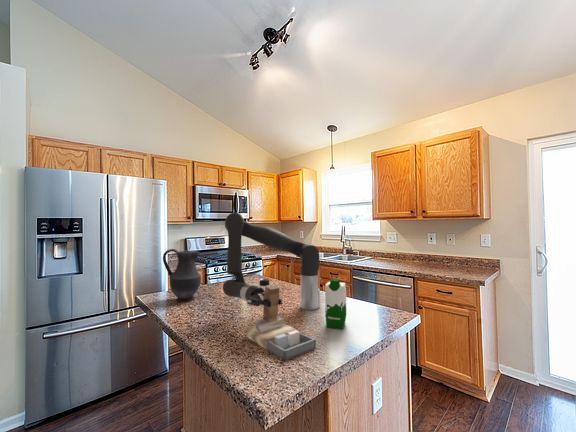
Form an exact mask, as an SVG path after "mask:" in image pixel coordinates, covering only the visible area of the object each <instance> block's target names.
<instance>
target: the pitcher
mask: <svg viewBox="0 0 576 432" xmlns="http://www.w3.org/2000/svg"><path fill="white" fill-rule="evenodd" d="M171 252H174V253H175V254H176V255H177V260H178V263H177V266H176V268H175V271H173V272H172V270H171V268H170V266H169V263H168V262H167V259H166V258H167V257H166V256H167V254H169V253H171ZM199 255H200V251H198V250H181V251H180V250H179V251H178V250H177V249H174V248H170V249H167V250H166V251H165V252H164V253H163V256H162V262H163V265H164V267H165V269H166V270H167V271H166V272H167V273H168V275H169V286H170V290H171V292H172V293H173V295H175V296H176V298H177V299H176V302H177V301H178V302H177V303H188V301H190V302H192V300H193V301H194V300H195V297H194V295H195V293H197V292H198V290H199V289H200V287H201V281H202V276H201V274H200V273H199V271H198V269H197V265H196V260H197V258H198V257H199Z"/></svg>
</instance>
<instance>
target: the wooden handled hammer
mask: <svg viewBox="0 0 576 432" xmlns="http://www.w3.org/2000/svg"><path fill="white" fill-rule="evenodd" d="M279 298H280V287H279V286H277V285H275V284H271V285H270V284H269V286H265V296H264V300H265V299H266V300H269V301H271V307H267V306H263V314H262V318H261V319H257V320H256V322H255V325H256V329H258V330H259V331H260V332H265V331H268V330H271V329H275V328H278V327H281V326H283V323H284V318H283V317H281V316H280V315H278V314H279V304H278V302H279Z"/></svg>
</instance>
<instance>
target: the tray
mask: <svg viewBox="0 0 576 432" xmlns="http://www.w3.org/2000/svg"><path fill="white" fill-rule="evenodd" d="M299 342H300V343H298V344H295V345H292V346H290V345H288V342H287V347H286V348H281V347H279V346H278V345H276V344H274V343H272V342H271V341H267V349H266V350H267V351H268V352H270V353H271V354H273V355H274V356H276V357H278V358H279V359H280V360H282V361H284V362H286V361H288V360H290V359H293V358H296V357H298V356H300V355H302V354H305V353H307V352H310V351H312V349H313V350H315V349H316V348H317V347H316V346H317V345H316V343H317V341H316V338H313V337H311V336H309V335H306V334H305V333H303V332H301V331H299Z"/></svg>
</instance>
